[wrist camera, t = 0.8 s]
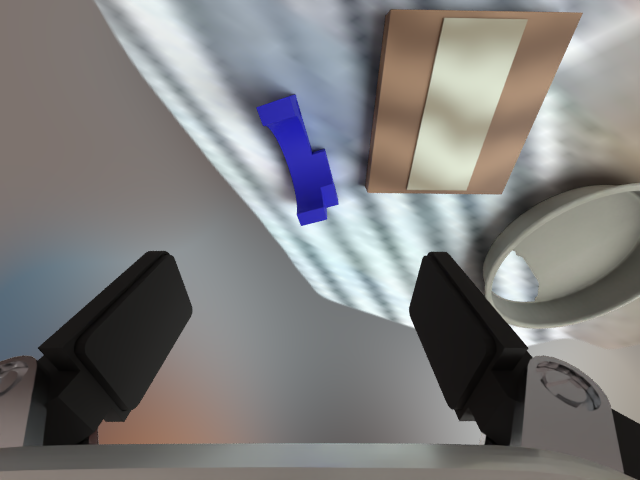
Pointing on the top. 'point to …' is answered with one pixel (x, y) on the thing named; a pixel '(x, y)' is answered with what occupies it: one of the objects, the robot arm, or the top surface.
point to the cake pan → (573, 256)
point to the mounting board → (460, 96)
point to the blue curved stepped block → (301, 160)
